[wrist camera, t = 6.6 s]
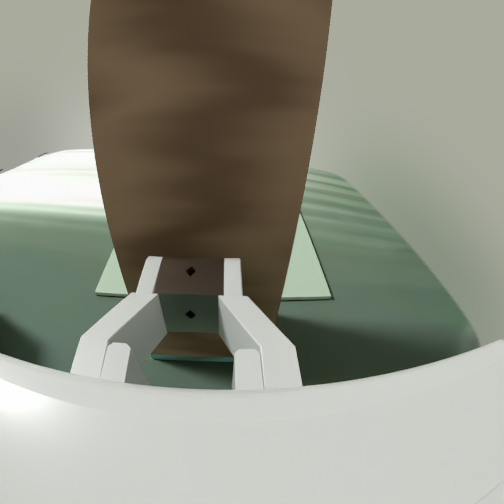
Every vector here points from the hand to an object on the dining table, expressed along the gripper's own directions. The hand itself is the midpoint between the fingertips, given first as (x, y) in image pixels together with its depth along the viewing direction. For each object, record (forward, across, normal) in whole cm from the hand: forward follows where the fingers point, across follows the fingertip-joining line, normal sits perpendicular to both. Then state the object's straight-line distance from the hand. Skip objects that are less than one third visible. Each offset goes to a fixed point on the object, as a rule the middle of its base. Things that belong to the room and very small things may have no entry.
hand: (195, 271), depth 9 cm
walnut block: (+4, 0, +9) cm, 10 cm away
